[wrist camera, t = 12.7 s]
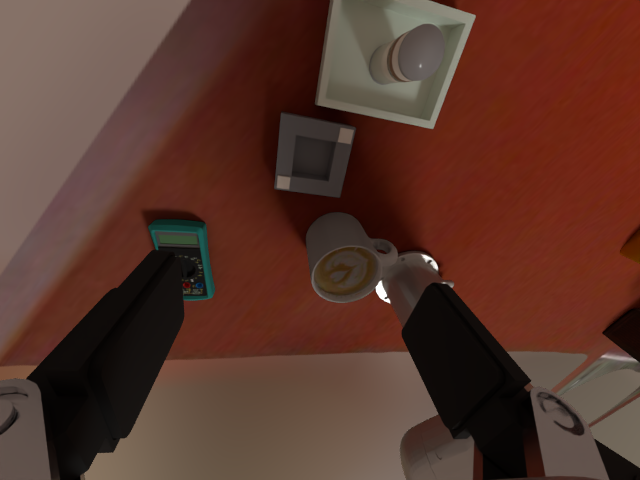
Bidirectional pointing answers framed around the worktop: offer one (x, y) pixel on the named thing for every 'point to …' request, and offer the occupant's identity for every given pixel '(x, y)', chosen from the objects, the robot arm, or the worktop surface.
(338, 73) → the parts tray
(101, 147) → the worktop surface
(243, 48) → the worktop surface
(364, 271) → the coffee mug
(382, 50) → the cylinder
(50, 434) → the robot arm
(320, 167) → the fuse holder
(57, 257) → the worktop surface
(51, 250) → the worktop surface
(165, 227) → the digital multimeter
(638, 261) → the element tile
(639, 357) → the manual coffee grinder
